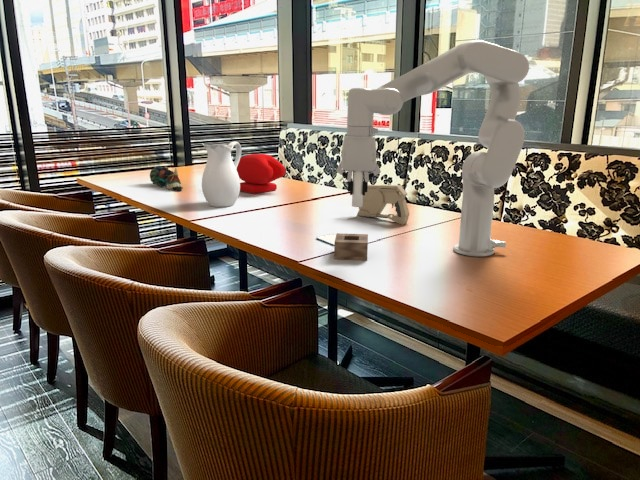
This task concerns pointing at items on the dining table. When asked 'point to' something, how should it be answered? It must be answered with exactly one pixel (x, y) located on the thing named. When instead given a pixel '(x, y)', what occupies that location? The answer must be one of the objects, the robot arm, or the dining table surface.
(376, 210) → the gun
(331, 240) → the smartphone
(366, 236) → the socket block
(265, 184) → the toy
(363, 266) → the dining table surface
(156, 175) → the sculpture
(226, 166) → the pitcher
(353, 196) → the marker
